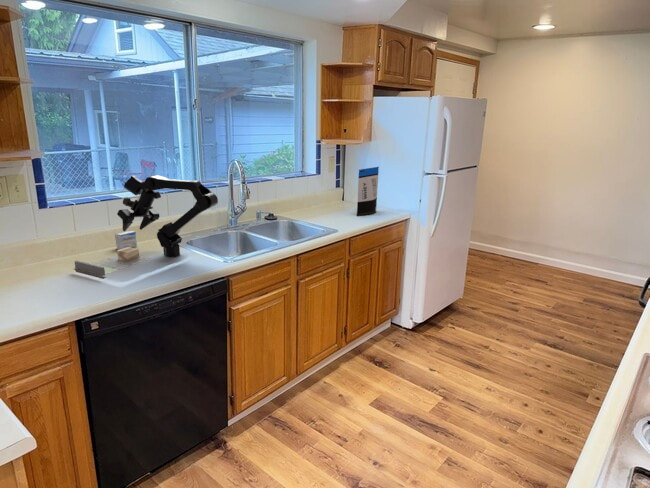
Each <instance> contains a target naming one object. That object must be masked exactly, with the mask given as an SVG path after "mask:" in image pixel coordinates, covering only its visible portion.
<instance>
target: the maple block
mask: <svg viewBox="0 0 650 488" xmlns="http://www.w3.org/2000/svg"><path fill="white" fill-rule="evenodd" d="M139 251H140V250H139V248H137V247H133V248H131V247H127V248H124V249H120V250H119V249H117V250H116V256H117V255H118V260H123V261H127V262H129V261H132V260H135V259H138V258H139V256H140V252H139Z"/></svg>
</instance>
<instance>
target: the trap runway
mask: <svg viewBox="0 0 650 488" xmlns="http://www.w3.org/2000/svg"><path fill="white" fill-rule="evenodd" d="M151 259H152V257H147V256H143V255H142V256H141V255H139V258H138V259H135V260H132V261H129V262H127V261H123V260H118V255H117V254H116V255H113V256H109V257H107V258H105V259H104V258H103V259H101V260H97V261H95V262H91V263H88V262H84V261H80V260H74V262H73V263H74V267H75V273H79V274H82V275H86V276H87V275H88V276H91V277H94V278H98V279H101V280H105V279H106V276H105V275H108V274H110V273H114V272H116V271H119V270H123V269H125V268H129V267H131V266H134V265H136V264H140V263H144V262H145V261H149V260H151ZM106 260H109V261H106ZM102 261H106V262H103V263H99V262H102ZM96 263H99V264H96ZM122 265H127V266H124V267H121V266H122ZM117 267H121V268H118V269H117Z"/></svg>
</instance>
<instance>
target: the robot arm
mask: <svg viewBox="0 0 650 488" xmlns="http://www.w3.org/2000/svg"><path fill="white" fill-rule="evenodd" d="M123 188H124V189H125V190H127V191H128V192H130V193H132V194H133V195H134V196H139V198H133V197H132V198H131V197H127V196H125V197H124V198H123V200H122V204H123V205H124V206H126V207H129V208H130V210H131V211H132V212H131V211H130V210H129V209H119V210H118V211H117V213H116V215H117V216H118V217H119V218H120V219H121V220H122V232H127V230H128V229H129V228H130V227H131V225H132V224H133V222H134V220H135V218H142V220H141V223H140V225H139V230H140V231H142V230H143V229H145V228H146V227H148V226H149V225H151V224H152V223H153V222H156V221H157V220H159V218H160V213H159V212H158V211H157V210H156V209H154V206H153V203H154V201H155V200H158V199H161V198H162V195H161V193H160V192H159V191H158V190H166V189H167V190H179V191H180V190H181V191H183V190H184V191H190V193H192V196H193V197H194V200H196V202H195V203H194V205H193V207H192V208H190V209H189V210H188V211H186V213H184V214H183V215H182V216H180V217H179V218H178V219H176V220H175V221H174V222H172V221H169V222H167V223H166V224H164V225H162V227H160V228H159V229H157V232H156V239H157V240H158V242H159V243H160V247H161V248H163V249H162V250H163V256H165V257H167V258H176V257H179V256H181V250H180V249H181V248H180V244H181V243H182V240H183V238H182V237H181V236H180V235H179V233H180V231H181V230H182V229H183V228H184V227H186V226H187V225H188V224H190V223H191V222H192V221H193V220H194V219H196V218H197V217H198V216H199V215H201V213H203V212H205V211H207V210H209V209H211V208H213V207H215V206H216V205H217V204H218V202H219V201H218V200H219V199H218V197H217V195H216V194H215V193H213V192H212V191H211V190H210V189H209V188H207V187H206V186H205V185H203V183H201V182H200V181H199V180H197V179H195V180H188V179H173V178H167V176H162V175H159V174H158V175H152V176H148V177H146V178H145V179H144V181H142V180H141V179H140V178H138V177H137V175H131V176H130V178H127V180H126V181H125V182H124V185H123Z"/></svg>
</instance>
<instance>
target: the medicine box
mask: <svg viewBox="0 0 650 488" xmlns="http://www.w3.org/2000/svg"><path fill="white" fill-rule="evenodd" d="M114 238H115V245H116V246H115V247H116V249H117V250H120V249H124V248H127V247H131V248H137V247H138V240H137V232H136V231H133V230H128V231H127V230H126V231H122V232H119V233H114Z"/></svg>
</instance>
